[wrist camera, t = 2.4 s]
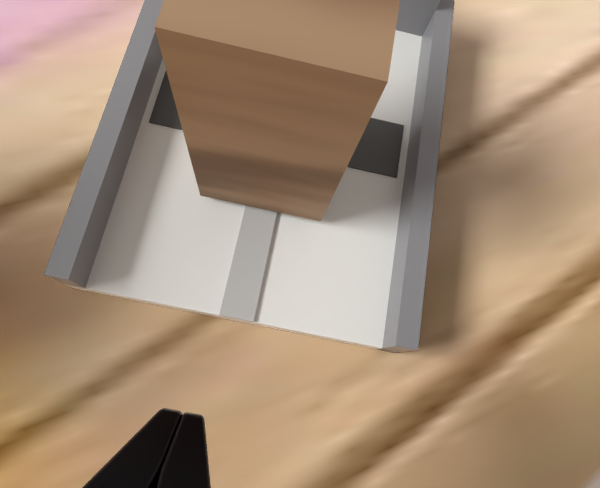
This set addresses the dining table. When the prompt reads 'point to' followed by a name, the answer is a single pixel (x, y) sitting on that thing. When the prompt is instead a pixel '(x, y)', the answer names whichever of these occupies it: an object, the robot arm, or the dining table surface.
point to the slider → (275, 93)
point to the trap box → (259, 222)
